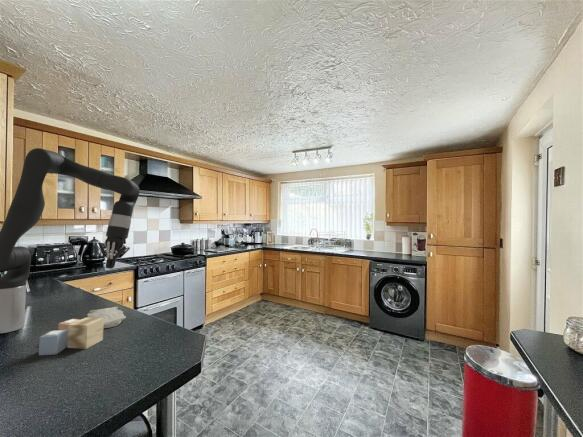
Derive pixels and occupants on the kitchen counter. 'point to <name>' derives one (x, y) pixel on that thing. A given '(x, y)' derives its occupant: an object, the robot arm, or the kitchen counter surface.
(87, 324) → the plain block
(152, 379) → the kitchen counter surface
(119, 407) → the kitchen counter surface
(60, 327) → the terracotta label block
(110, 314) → the stone tool
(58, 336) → the blue label block
